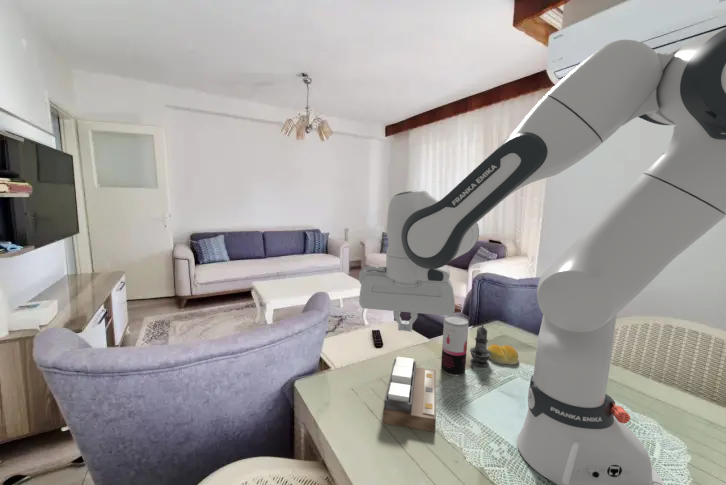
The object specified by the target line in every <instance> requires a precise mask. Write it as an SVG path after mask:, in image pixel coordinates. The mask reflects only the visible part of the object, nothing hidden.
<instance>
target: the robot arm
mask: <svg viewBox="0 0 726 485" xmlns="http://www.w3.org/2000/svg"><path fill="white" fill-rule="evenodd" d="M637 118H639V119H642V120H644V121H646V122H649V123H652V124H656V125H661V126H674V127H673V132H672V136H671V139H670V141H669V143H668V145H667V147H666V148H665V149H664V151H663V152H662V155H661V156H659V157H658V159H656V160H655V161H654V162H652V164H650V166H648V168H647V169H646V170H645V171H643V173H642V174H640V176H639V177H638V178H636V180H635V181H633V183H632V184H631V185H630V186H629V187H628V188H627V189H626V190H625V191H624V192H623V193H622V194H621V195H620V196H619V197H618V198H617V199H615V201H613V203H612V204H611V205H610V206H609V207H608V208H607V209H606V210H605V211H604V212H603V213H602V214H601V215H599V217H598V218H597V219H596V220H595V221H594V222H593V223H592V224H591V225H590V226H589V227H588V228H587V229H586V230H585V231H584V232H583V233H582V234H581V235H580V236H579V237H578V238H577V239H576V240H575V241H574V242H572V244H571V245H570V246H569V247H568V248H567V249H566V250H565V251H564V252H563V253H562V254H561V255H560V256H559V257H558V258H556V259H555V261H554V262H553V263H552V264H551V265H550V266H549V267H548V268H547V269H546V270H544V272H543V273H542V274H541V276H540V278H539V280H538V283H537V286H536V287H537V288H536V299H537V304H538V306H539V310H540V311H541V313H542V314H543V315H542V319H541V324H540V329H539V333H538V336H537V339H536V340H537V341H536V351H535V358H534V368H533V374H532V375H531V377H530V382H529V387H528V391H527V393H528V394H527V405H528V406H527V407H528V408H527V412H526V416H525V419H524V423H523V425H522V427H521V429H520V432H519V433H518V435H517V438H516V445H517V448H518V451H519V453H520V454H521V457H522V458H523V459H524V460H525V462H527V464H528V465H530V467H531V468H532V469H534V470H535V471H536V472H537V473H539V475H541V476H543V477H544V478H546V479H548V480H549V481H551V482H552V483H554V484H555V485H665V482H664V481H663V479H662V478H661V476H660V474H659V473H658V472H657V470H656V469H655V468H654V467H653V466H652V465H653V464H652V460H651V457H650V455H649V452H648V451H647V449H646V448H645V446H644V444H643V443H642V442H641V440H640V439H639V438H638V437H637V435H636V434H635V433H634V432H633V431H632V430H631V429H630V427H628V426H627V425H626V424H627V423H628V422H630V420H631V416H630V415H629V413H628V411H627V412H626V410H625V409H624V407H622V406H619V405H616V401H615V400H614V399H613V398H612V397H611V396H609V395H608V394H607V389H608V388H607V387H608V380H609V373H610V369H611V368H610V366H611V360H612V351H613V344H614V343H613V342H614V337H615V329H616V320H617V314H618V313H619V312H621V311H622V310H623V309H624V308H625V307H626V306H627V305H628V304H629V303H630V302H632V300H634V299H635V298H636V297H637V296H638V295H639V294H640V293H641V292H642V291H643V290H644V289H646V288H647V286H649V284H651V283H652V282H653V281H654V280H655V278H657V276H659V275H660V273H661V272H662V271H663V270H665V268H666V267H667V266H668V265H670V263H672V261H674V260H675V259H676V258H678V256H680V255H681V254H682V253H683V252H684V251H685V250H687V249H688V248H690V246H691V245H693V244H694V243H695V242H697V241H698V240H699V239H700V238H701V237H702V236H704V235H706V234H707V232H709V231H710V230H712V229H713V227H715V226H716V225H717V224H718V223H719V222H721V221H722V220H724V218H726V27H724V28H722V29H719V30H716V31H715V30H714V31H713V32H710V33H707V34H705V35H703V36H700V37H698V38H695V39H694V40H691V41H689V42H688V43H686V44H684V45H682V46H679V47H677V48H675V49H673V50H671V51H668V52H667V53H664V54H662V53H660V52H656V51H655V50H654V49H653V48H652V47H650V46H649V45H647V44H646V43H643V42H641V41H637V40H632V39H620V40H615V41H612V42H611V41H610V42H609V43H607V44H605V45H604V46H602V47H601V48H599V49H598V50H597V51H595V52H594V53H593V54H591V55H590V56H588V57H587V58H586V59H585V60H583V61H582V62H581V63H579V64H578V65H577V66H576V67H575V68H573V69H572V70H571V71H570V72H568V74H567V75H565V76H564V77H563V78H561V80H560V81H558V82H557V84H555V85H554V86H553V87H552V88H551V89H550V90H549V91H548V92H547V93H546V94H544V96H543V97H542V98H541V99H540V100H539V101H538V102H537V103H536V104H535V105H534V106H533V107H532V109H531V110H530V111H529V112H528V113H527V114H526V115H525V116H524V117H523V118H522V120H521V121H520V122H519V123H518V124H517V126H515V128H514V129H513V130H512V131H511V132H510V134H508V136H506V138H505V139H504V140H503V141H502V142H501V143H500V144H499V146H497V148H496V149H495V150H494V151H492V153H491V154H490V155H489V156H488V157H486V158H485V159H484V160H483V161H482V162H481V163H480V164H479V165H478V166H476V168H474V169H473V170H472V171H471V172H470V173H469V174H468V175H467V176H465V178H464V179H462V180H461V181H460V182H459V183H458V184H457V185H456V186H455V187H454V188H452V190H450V192H448V193H447V194H446V195H445V196H444V197H443V198H441V199H440V200H438V199H436V198H435V197H433V195H431V194H430V193H428V192H427V191H426V190H419V189H418V190H407V191H403V192H399V193H397V194H395V195H393V196H392V197H391V199H390V200H389V201H390V202H389V206H388V211H387V218H386V219H387V221H386V222H387V223H386V235H387V239H388V241H387V242H388V245H387V249H386V258H385V259H386V260H385V261H386V263H385V266H372V265H367V266H365V267H363V268H362V269H360V270H359V273H358V275H359V276H358V280H359V283H360V290H359V297H358V298H359V300H358V303H359V305H360V307H361V308H362V309H366V310H367V309H368V310H379V311H390V312H391V311H392V312H393V317H394V319H395V321H396V323H397V324H398V325H397V330H398V331H401V332H412V330H413V324H414V323H415V322H416V320H417V319H418V314H427V315H438V316H446V317H447V316H453V315H454V313H455V312H456V311H455V310H456V309H455V308H456V306H455V305H456V304H455V303H456V302H455V295H454V294H455V293H454V287H453V285H452V282H451V280H450V277H451V272H450V269H449V268H448V266H446V265H448V264H449V263H450V262H451V261H453V260H456V259H457V258H459V257H461V256H463V255H465V254H466V253H468V252H469V251H470V250H472V249H473V248H474V247H475V246H476V244H477V242H478V241H479V237H480V235H479V234H480V229H479V225H478V222H479V221H481V220H482V219H483V218H484V217H485V216H487V215H488V214H489V213H490V212H491V211H492V210H493V209H495V208H496V207H497V206H498V205H500V203H502V201H504V200H505V199H506V198H508V197H509V196H510V195H512V194H513V193H515V192H516V191H518V190H520V189H521V188H524V187H525V186H528V185H530V184H531V183H534V182H536V181H540V180H543V179H547V178H550V177H554V176H556V175H559V174H561V173H562V172H564V171H565V170H568V169H569V168H571V167H572V166H574V165H575V164H577V163H578V162H580V161H581V160H583V159H584V158H585V157H587V156H589V155H590V154H591V153H592V152H594V151H595V150H597V148H598V147H600V146H601V145H602V144H603V143H605V141H607V140H608V139H609V138H611V137H612V135H614V134H615V133H616V132H617V131H618V130H619V129H620V128H621V127H622V126H625V125H626V124H628V123H629V122H631V121H632V120H635V119H637ZM402 312H403V313H410V317H411V318H410V319H409V320H402V317H401V316H400V315H401V313H402Z"/></svg>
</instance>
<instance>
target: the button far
mask: <svg viewBox="0 0 726 485" xmlns="http://www.w3.org/2000/svg"><path fill="white" fill-rule="evenodd" d="M395 359H396V363H395V365H397V366H404V367H412V372H413V363H414V361H415V360H414V358H411V357H404V356H403V357H402V356H396V358H395Z"/></svg>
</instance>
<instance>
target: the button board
mask: <svg viewBox="0 0 726 485" xmlns="http://www.w3.org/2000/svg"><path fill="white" fill-rule="evenodd" d="M396 359H397V358H394V359H393V360H394V361H393V364H392V369H391V372H390V377H389V380H388V385H387V388H386V392H385V396H384V400H383V402H384V405H383V412H382V413H383V414H382V424H386V425H387V424H388V425H392V426H398V427H403V428H409V429H416V430H421V431H427V432H432V433H435V432H436V423H437V422H436V420H437V413H436V412H437V406H436V403H437V399H436V396H437V395H436V394H437V393H436V391H437V390H436V388H437V387H436V385H437V384H436V380H437V379H436V369H430V368H424V367H417V361H415V360H414V363H413V372H412V380H411V386H410V398H409V403H406V402H400V401H394V400H388V393H389V389H390V385H391V382H392V373H393V369H394V365H395V363H396Z"/></svg>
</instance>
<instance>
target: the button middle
mask: <svg viewBox="0 0 726 485" xmlns="http://www.w3.org/2000/svg"><path fill="white" fill-rule="evenodd" d="M411 380H412V367H404V366H397V365H394V369H393V373H392V382H393V383H399V384H406V385H410V386H411Z"/></svg>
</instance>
